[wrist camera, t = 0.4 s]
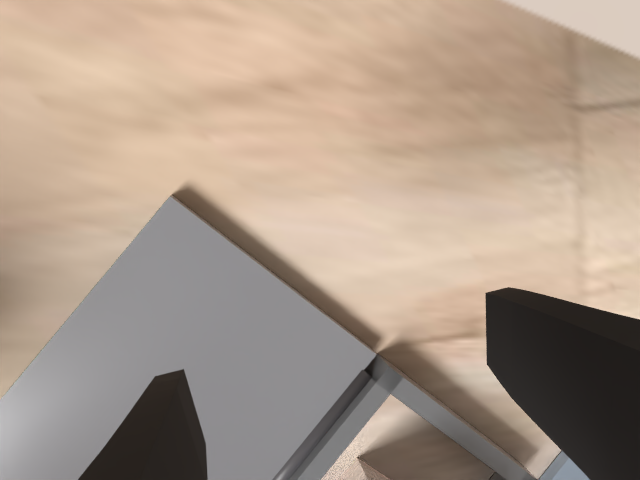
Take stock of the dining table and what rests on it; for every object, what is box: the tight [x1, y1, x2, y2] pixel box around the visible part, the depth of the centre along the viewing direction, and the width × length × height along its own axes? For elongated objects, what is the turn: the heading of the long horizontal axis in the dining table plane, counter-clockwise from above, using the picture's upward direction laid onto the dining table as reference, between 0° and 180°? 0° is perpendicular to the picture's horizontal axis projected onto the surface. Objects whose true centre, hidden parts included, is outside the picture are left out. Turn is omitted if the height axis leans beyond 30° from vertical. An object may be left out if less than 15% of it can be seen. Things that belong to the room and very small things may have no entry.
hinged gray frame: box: [0, 195, 537, 480], centre depth 21 cm, size 14×24×2 cm, turn 49°
